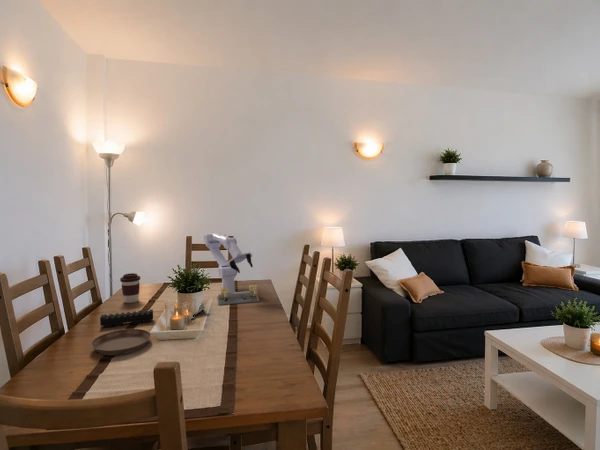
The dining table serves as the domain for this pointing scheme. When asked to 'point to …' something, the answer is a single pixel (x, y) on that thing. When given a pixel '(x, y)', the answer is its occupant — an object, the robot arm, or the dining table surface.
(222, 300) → the bolt plate
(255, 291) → the sliding leg
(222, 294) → the beam with fixed leg
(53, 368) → the dining table surface
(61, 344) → the dining table surface
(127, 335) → the plant saucer
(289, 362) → the dining table surface
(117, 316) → the rail mount
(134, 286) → the coffee cup
